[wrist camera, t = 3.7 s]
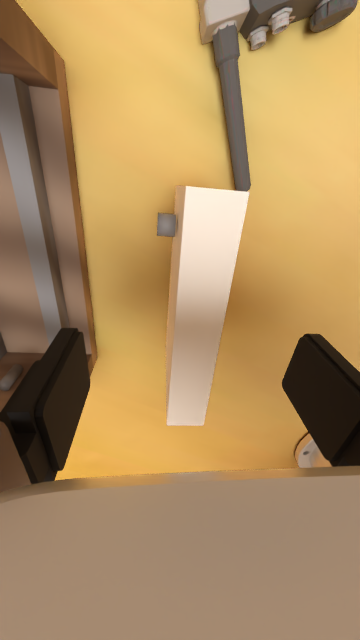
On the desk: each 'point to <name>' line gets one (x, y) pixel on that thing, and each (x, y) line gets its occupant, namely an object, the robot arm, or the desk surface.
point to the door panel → (198, 292)
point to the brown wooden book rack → (37, 205)
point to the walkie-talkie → (253, 23)
